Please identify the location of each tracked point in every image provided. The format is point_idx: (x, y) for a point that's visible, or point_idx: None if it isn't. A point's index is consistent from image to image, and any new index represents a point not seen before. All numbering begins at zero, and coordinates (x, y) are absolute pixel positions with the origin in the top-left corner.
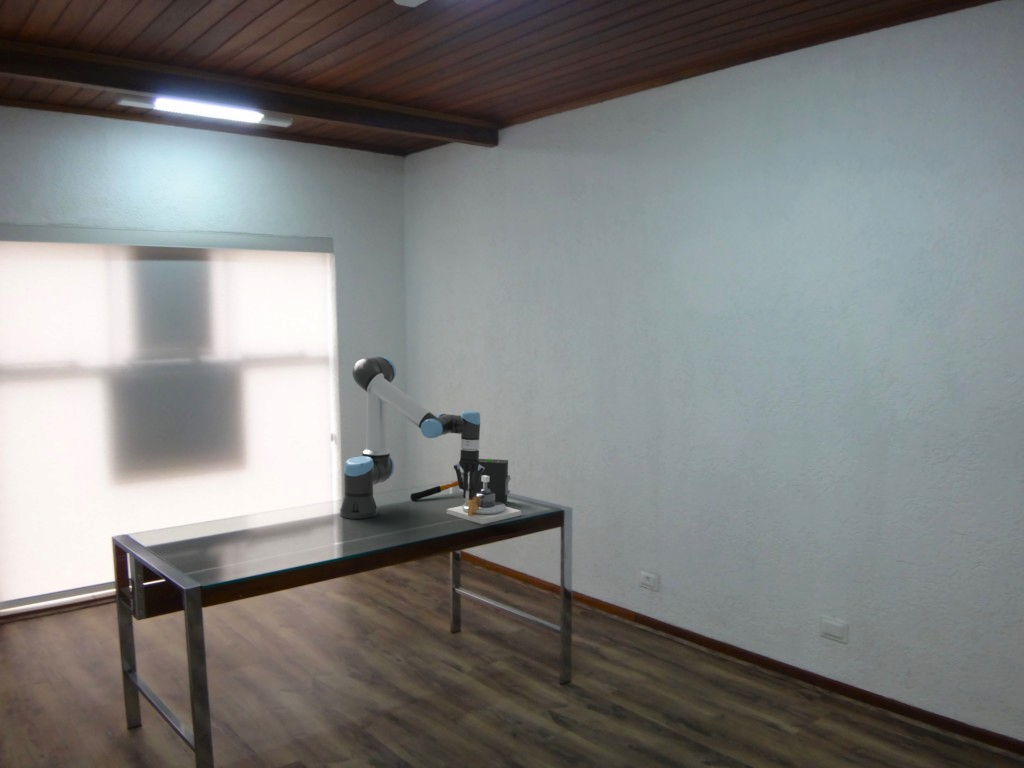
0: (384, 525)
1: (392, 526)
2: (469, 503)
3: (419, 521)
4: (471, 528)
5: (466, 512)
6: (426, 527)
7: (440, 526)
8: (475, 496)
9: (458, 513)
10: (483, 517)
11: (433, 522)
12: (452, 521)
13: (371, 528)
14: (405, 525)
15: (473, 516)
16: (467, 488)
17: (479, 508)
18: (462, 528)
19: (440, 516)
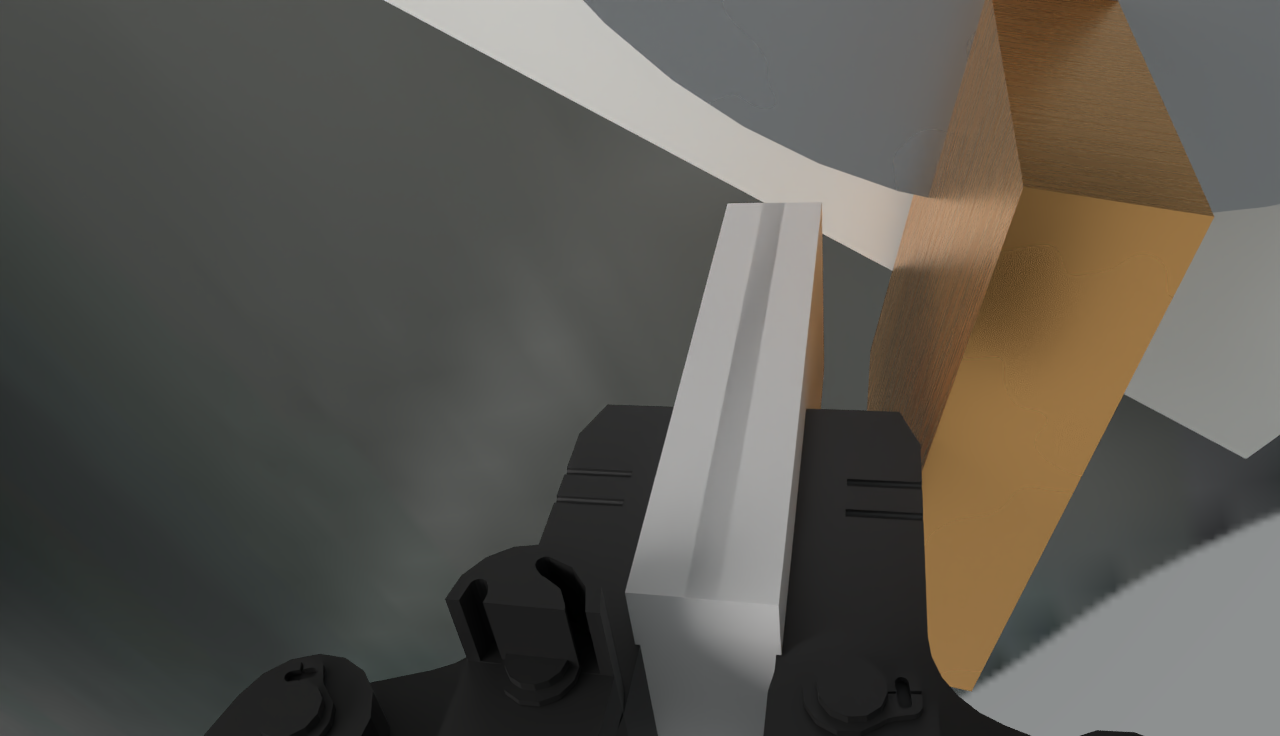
0: (43, 625)
1: (128, 641)
2: None
3: (191, 446)
4: (1046, 601)
5: None
6: (443, 631)
7: None
8: (1009, 256)
9: (533, 62)
10: (1275, 321)
11: (376, 449)
12: (601, 342)
13: (48, 701)
14: (198, 601)
15: None
16: (620, 702)
17: (1135, 5)
18: None
19: (224, 100)
